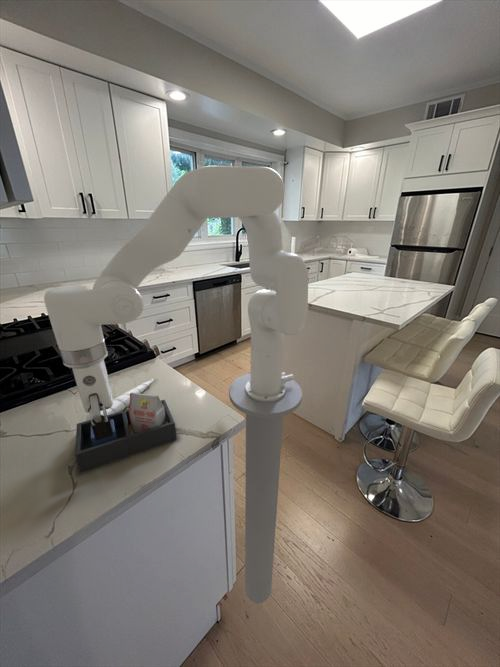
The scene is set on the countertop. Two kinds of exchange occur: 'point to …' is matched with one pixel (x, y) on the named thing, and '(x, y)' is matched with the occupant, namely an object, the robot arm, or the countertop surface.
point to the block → (104, 440)
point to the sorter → (120, 440)
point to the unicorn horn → (123, 400)
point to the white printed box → (145, 412)
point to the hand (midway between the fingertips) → (103, 422)
